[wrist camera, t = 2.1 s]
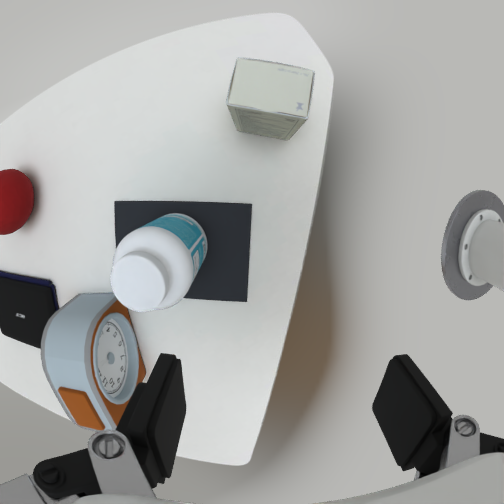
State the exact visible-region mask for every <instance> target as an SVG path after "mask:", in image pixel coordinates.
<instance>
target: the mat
mask: <svg viewBox="0 0 504 504" xmlns="http://www.w3.org/2000/svg"><path fill="white" fill-rule="evenodd" d="M251 210H252V204H243V203H218V202H182V201H115V237H116V248H117V247H118V245H119V243H120V242H121V240H122V239H123V238H124V237H125V236H126V235H128V234H129V233H131V232H132V231H134V230H136V229H138V228H140V227H142V226H144V225H146V224H148V223H150V222H152V221H154V220H156V219H158V218H160V217H162V216H165V215H167V214H173V213H178V214H184V215H187V216H189V217H191V218H193V219H194V220H195V221H196V222H198V224H199V225H200V226H201V227H202V229H203V230H204V233H205V235H206V238H207V253H206V256H205V259H204V261H203V263H202V265H201V267H200V269H199V271H198V273H197V275H196V277H195V278H194V280H193V282H192V284H191V286H190V288H189V290H188V292H187V293H186V295H185V296H184V297H183V298H191V299H205V300H221V301H239V302H247V288H248V268H249V249H250V230H251Z"/></svg>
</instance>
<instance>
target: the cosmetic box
mask: <svg viewBox="0 0 504 504" xmlns="http://www.w3.org/2000/svg"><path fill="white" fill-rule="evenodd" d="M314 76H315V72H314V71H312V70H309V69H305V68H302V67H297V66H293V65H288V64H283V63H278V62H272V61H265V60H258V59H250V58H240V57H238V58H237V59H236V63H235V67H234V70H233V74H232V78H231V82H230V86H229V90H228V95H227V100H226V104H227V106H228V109H229V111H230V113H231V116H232V119H233V121H234V124H235V126H236V129H237V131H240V132H246V133H251V134H256V135H262V136H267V137H272V138H278V139H283V140H289V139H290V138H291V137H292V136H293V135H294V133H295V132H296V131H297V130H298V129H299V128H300V127H301V126H302V125H303V123H304V122H305V121H306V120H307V119H308V115H309V110H310V105H311V99H312V93H313V86H314Z"/></svg>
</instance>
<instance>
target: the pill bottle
mask: <svg viewBox="0 0 504 504" xmlns="http://www.w3.org/2000/svg"><path fill="white" fill-rule="evenodd" d="M206 253H207V238H206V235H205V233H204V230H203V229H202V227H201V226H200V225H199V224H198V222H196V221H195V220H194V219H193V218H191V217H189V216H187V215H184V214H178V213H173V214H167V215H165V216H162V217H160V218H158V219H156V220H154V221H152V222H150V223H148V224H146V225H144V226H142V227H140V228H138V229H136V230H134V231H132V232H131V233H129V234H128V235H126V236H125V237H124V238H123V239H122V240H121V242H120V243H119V245H118V247H117V248H116V251H115V254H114V258H113V268H112V271H111V276H110V282H111V287H112V290H113V293H114V294H115V296H116V298H117V299H118V300H119V301H120V302H121V303H122V304H123V305H124V306H125V307H127V308H129V309H131V310H133V311H137V312H148V311H151V310H160V309H166V308H169V307H171V306H173V305H175V304H177V303H178V302H179V301H180V300H182V298H183V297H184V296H185V295H186V293H187V292H188V290H189V288H190V286H191V284H192V282H193V280H194V278H195V277H196V275H197V273H198V271H199V269H200V267H201V265H202V263H203V261H204V259H205V256H206Z"/></svg>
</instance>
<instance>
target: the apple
mask: <svg viewBox="0 0 504 504" xmlns="http://www.w3.org/2000/svg"><path fill="white" fill-rule="evenodd" d="M33 205H34V192H33V186H32V183H31V181H30V179H29V178H28V177H27V176H26V175H25V174H24V173H22V172H21V171H19V170H15V169H7V170H2V171H0V235H6V234H10V233H13V232H15V231H16V230H18V229H19V228H21V227H22V226H23V225H24V224H25V223H26V221H27V220H28V218H29V216H30V214H31V212H32V209H33Z"/></svg>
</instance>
